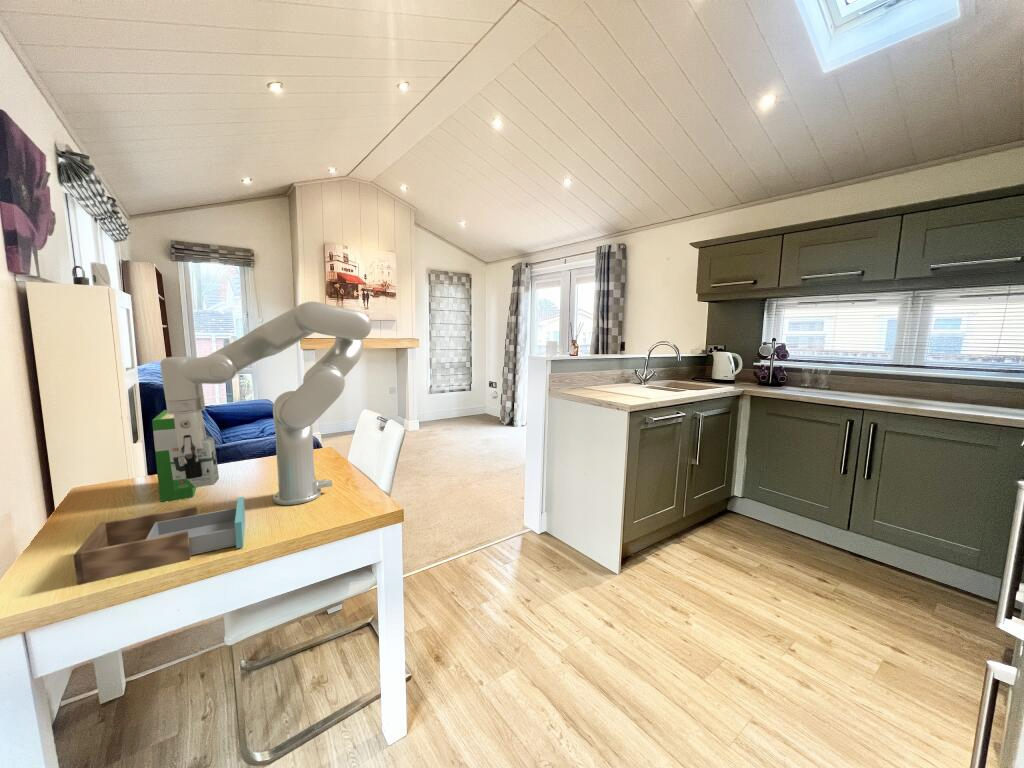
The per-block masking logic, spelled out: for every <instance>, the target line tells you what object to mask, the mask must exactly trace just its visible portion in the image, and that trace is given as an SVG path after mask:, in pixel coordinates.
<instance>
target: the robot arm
mask: <svg viewBox="0 0 1024 768" xmlns="http://www.w3.org/2000/svg"><path fill="white" fill-rule="evenodd" d="M371 322H372V321H371V319H370V318H369V317H368V316H367V315H366V314H365V313H363V312H361V311H359V310H355V309H349V308H344V307H339V306H336V305H332V304H327V303H323V302H319V301H318V302H317V301H306V302H303V303H301V304H298V305H297V306H295V307H293V308H291V309H289V310H287V311H286V312H283V313H282V314H280V315H278V316H277V317H275V318H273V319H271V320H269V321H267V322H265V323H263V324H261V325H259V326H257V327H256V328H254V329H253V330H251V331H249V332H248V333H247V334H245V335H243V336H242V337H240V338H238V339H236V340H234V341H232V342H230V343H229V344H227V345H224V347H221V348H220V349H217V350H216V351H214V352H211V353H210V354H209V355H207V356H201V357H200V356H199V357H195V356H171V357H166V358H162V359H161V361H160V363H159V364H160V365H159V366H160V372H161V379H162V384H163V385H162V386H163V391H164V392H163V393H164V398H165V399H164V400H165V404H166V405H165V406H166V410H167V412H168V414H174V423H175V430H176V437H177V443H178V448H179V451H180V452H182V453H184V463H185V464H184V467H185V473H186V479H192V478H197V477H201V476H202V468H201V462H200V461H199V457H198V449H200V450H203V449H204V441H205V438H206V437H207V433H206V427H205V423H204V422H205V421H204V416H203V412H202V411H205V410H206V403H205V396H204V395H205V394H204V388H203V384H205V385H206V384H208V385H209V384H211V385H222V384H227V383H229V382H230V381H232V380H233V379H234V378H235V376H236V374H237V373H238V372H240V371H242V370H243V369H245V368H247V367H248V366H250V365H253V364H254V363H256V362H259V361H260V360H262V359H265V358H269V357H272V356H275V355H278V354H280V353H282V352H283V351H285V350H287V349H289V348H290V347H293V346H294V345H295V344H297V343H298V342H301V341H302V340H304V339H306V338H308V337H309V336H312V334H314V333H315V334H316V333H317V334H319V335H320V334H321V335H326V336H331V337H335V340H334V343H333V345H332V346H331V348H330V349H328V351H327V352H326V353H325V354H324V355H323V356H322V357H321V358H319V360H318V361H316V363H314V365H312V366H311V367H310V368H309V369H308V370H307V371H306V372H305V374H304V375H303V379H302V384H301V385H300V386H299V387H298V388H297V389H296V390H289V391H286V392H283V393H281V394H280V395H278V396H277V398H276V399H275V400H274V402H273V405H272V415H273V425H274V433H275V447H276V448H275V451H276V463H277V464H276V466H277V482H278V485H277V486H278V491H277V492H276V493H275V494H273V496H272V500H273V503H275V504H276V505H281V506H292V505H299V504H304V503H308V502H311V501H313V500H316V499H317V498H318V496H319V495H320V496H321V494H322V489H323V488H329V487H333V480H331V479H328V480H327V479H319V480H318V479H317V478H316V476H315V458H314V457H315V455H314V454H315V453H314V435H313V426H312V425H313V424H315V422H316V421H317V420H319V419H320V417H321V416H322V415H323V414H324V413H326V412H327V410H328V409H329V408H330V407H331V406H332V405H334V403H335V402H336V401H337V399H339V397H340V396H341V395H342V393H343V392H344V390H345V387H346V386H345V385H346V382H345V381H346V380H345V377H346V376H347V375H348V374H349V373H350V372H351V370H352V369H353V368H354V367H355V366H356V365H357V363H358V362H359V360H360V359H361V357H362V355H363V349H364V339H366V338H367V337H368V336H369V335H370V333H371V331H372V323H371ZM181 448H183V449H181ZM192 448H195V450H192ZM192 453H195V455H194V454H192ZM320 496H319V497H320ZM315 498H316V499H315Z"/></svg>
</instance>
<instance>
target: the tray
mask: <svg viewBox="0 0 1024 768" xmlns="http://www.w3.org/2000/svg"><path fill="white" fill-rule="evenodd" d="M245 510H246V509H245V498H244V496H239V497H237V503H236V507H233V508H228V509H227V508H226V509H223V510H217V511H212V512H210V511H209V512H205V513H200V514H199V513H198V515H194V516H188V517H182V518H177V519H171V520H166V521H160V522H155V524H154V526H153V527H152V529H151V531H150V533H149V535H148V536H147V538H146V539H150V538H155V537H160V536H165V535H170V534H175V533H180V532H185V531H188V534H189V545H190V556H194V555H198V554H203V553H207V552H213V551H216V550H221V549H225V548H230V547H234V546H236V549H240V548H244V542H245V541H244V540H245V526H246V513H245V512H246V511H245Z"/></svg>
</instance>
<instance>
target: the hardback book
mask: <svg viewBox="0 0 1024 768" xmlns="http://www.w3.org/2000/svg"><path fill="white" fill-rule="evenodd" d="M151 421H152V422H151V423H152V431H153V442H154V443H153V444H154V450H155V451H154V452H155V463H156V471H157V472H156V473H157V484H158V494H159V502H162V503H167V502H166V501H168V502H172V501H173V500H175V501H180V500H179V499H181V500H186V499H185V498H187V499H193V498H194V497H195V495H196V491H197V489H198V487H195V488H188V489H181V490H174V483H173V476H172V469H171V462H170V455H169V448H168V446H169V445H171V444H172V443H173V442H174V441H176V440H177V437H176V430H175V423H174V414H168V412H167V409H164V410H162V411H161V412H160V413H159V414H157V416H155V417H154V418H153V419H152V420H151ZM196 488H197V489H196ZM193 496H194V497H193ZM192 497H193V498H192Z"/></svg>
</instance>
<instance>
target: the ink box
mask: <svg viewBox="0 0 1024 768" xmlns="http://www.w3.org/2000/svg"><path fill="white" fill-rule="evenodd" d="M168 448H169V455H170V462H171V469H172V476H173V483H174V490H181V489H188V488H195V487H197V488H201V487H207V486H213V485H214V486H215V484H216V483H217V482H218V481H219V478H220V475H219V467H218V466H219V465H218V461H217V452H216V443H215V437H212V436H208V437H207V436H206V438H205V441H204V449H203V450H200V449H198V457H199V461H200V462H201V468H202V476H201V477H197V478H192V479H186V473H185V467H184V464H185V463H184V453H182V452H180V451H179V448H178V443H177V440H176V441H174V442H173V443H172V444H171V445H169V446H168ZM181 449H183V448H181ZM192 450H195V448H192ZM192 454H194V455H195V453H192Z"/></svg>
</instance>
